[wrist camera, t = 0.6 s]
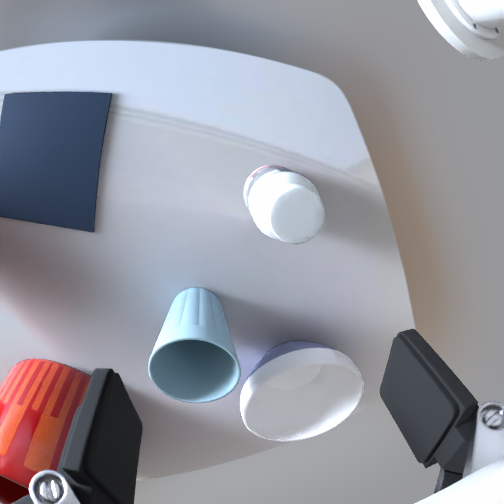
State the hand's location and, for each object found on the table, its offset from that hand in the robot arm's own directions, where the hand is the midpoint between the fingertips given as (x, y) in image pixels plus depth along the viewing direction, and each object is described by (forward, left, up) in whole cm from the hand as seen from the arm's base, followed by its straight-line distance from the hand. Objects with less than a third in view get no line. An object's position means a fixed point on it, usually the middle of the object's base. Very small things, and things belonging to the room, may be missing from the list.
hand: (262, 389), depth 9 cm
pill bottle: (-3, +4, -22) cm, 23 cm away
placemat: (-3, -20, -22) cm, 30 cm away
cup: (+11, -1, -22) cm, 25 cm away
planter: (+34, -19, -22) cm, 45 cm away
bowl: (+18, +12, -22) cm, 31 cm away
